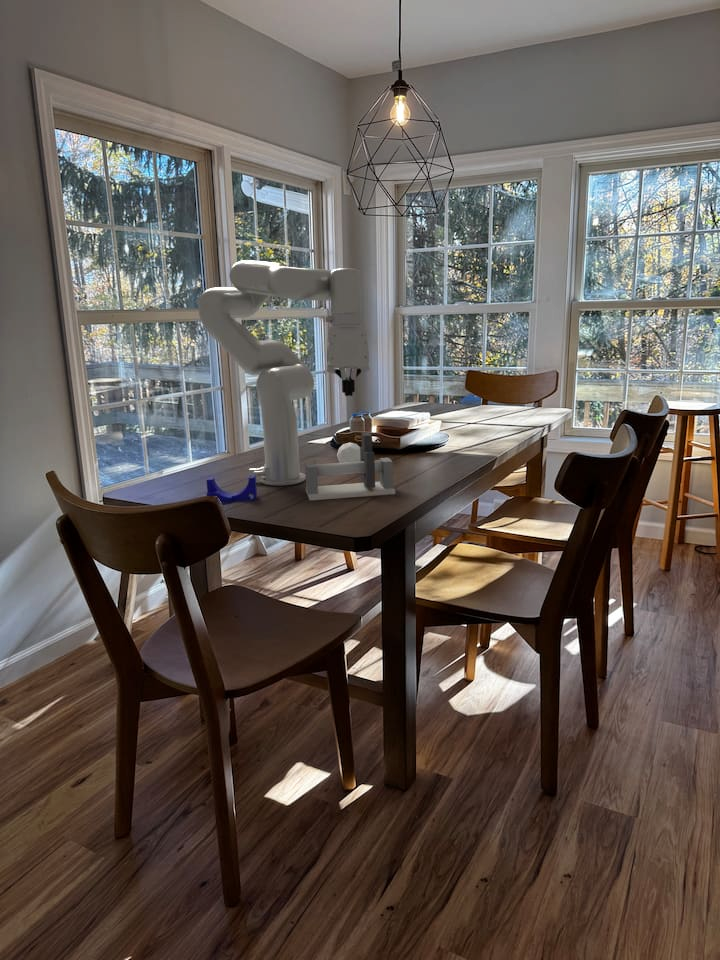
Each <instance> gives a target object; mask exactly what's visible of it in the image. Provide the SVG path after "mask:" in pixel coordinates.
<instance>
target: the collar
mask: <svg viewBox="0 0 720 960" xmlns="http://www.w3.org/2000/svg"><path fill="white" fill-rule="evenodd" d="M360 434H361V446H359V447H360V460H361V461H365V473H360V480H361V483H364V484H365V485H366V487H367V488H374V487H375V482H376V472H375V460H376V459H375V452H374V451H373V435H372V434H371V433H370V432H362V433H360Z"/></svg>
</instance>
